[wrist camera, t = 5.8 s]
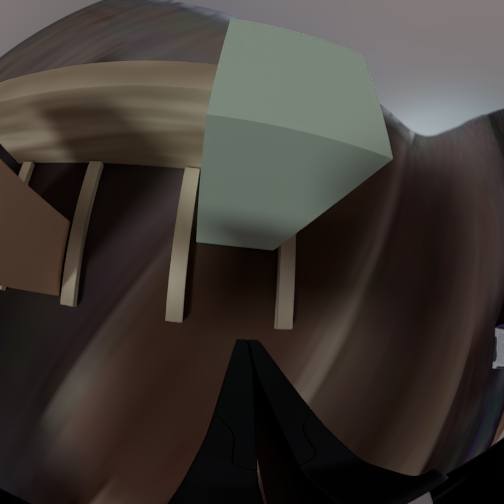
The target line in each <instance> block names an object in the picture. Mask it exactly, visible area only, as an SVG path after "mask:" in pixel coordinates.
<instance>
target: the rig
mask: <svg viewBox="0 0 504 504" xmlns="http://www.w3.org/2000/svg"><path fill="white" fill-rule="evenodd" d="M217 67H218V65H213V64H204V63H193V62H178V61H117V62H103V63H92V64H83V65H76V66H69V67H63V68H57V69H51V70H46V71H42V72H37V73H33V74H29V75H25V76H21V77H17V78H13V79H10V80H7V81H3V82H0V144H1V145H2V146H3V147H4V148H5V149H6V150H7V151H8V152H9V153H10V154H11V156H12V157H13V158H14V159H15V160H16V161H17V162H18V163H23V165H22V167H21V170H20V173H19V175H18V177H19V178H20V179H21V180H22V181H23V182H25V183H26V184H27V185H28V183H29V180H30V177H31V174H32V171H33V169H34V166H35V165H34V163H51V162H79V163H89V165H88V168H87V171H86V175H85V178H84V181H83V184H82V188H81V191H80V195H79V199H78V203H77V207H76V211H75V215H74V219H73V224H72V228H71V233H70V238H69V243H68V249H67V254H66V261H65V267H64V275H63V283H62V292H61V302H60V304H63V305H68V306H73V307H77V296H78V286H79V278H80V270H81V263H82V257H83V251H84V245H85V239H86V234H87V229H88V224H89V220H90V215H91V211H92V207H93V203H94V199H95V195H96V191H97V187H98V184H99V180H100V177H101V173H102V170H103V167H104V165H103V163H113V164H132V165H147V166H160V167H172V168H182V169H185V172H184V177H183V182H182V188H181V194H180V200H179V206H178V212H177V219H176V226H175V233H174V240H173V248H172V256H171V265H170V274H169V284H168V294H167V306H166V319H165V321H172V322H182V321H183V307H184V295H185V284H186V273H187V263H188V254H189V245H190V237H191V229H192V221H193V214H194V206H195V199H196V193H197V186H198V180H199V173H200V170H201V163H202V152H203V142H204V133H205V124H206V115H207V110H208V106H209V101H210V97H211V92H212V88H213V84H214V80H215V75H216V71H217ZM295 254H296V234H294V235H293V236H292V237H291V238H289V239H288V240H287V241H285V242H284V243H283V244H281V245H280V246H279V247H278V269H277V290H276V309H275V326H274V328H275V329H292V325H293V306H294V284H295ZM0 289H1V290H6V287H5V286H0Z"/></svg>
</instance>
